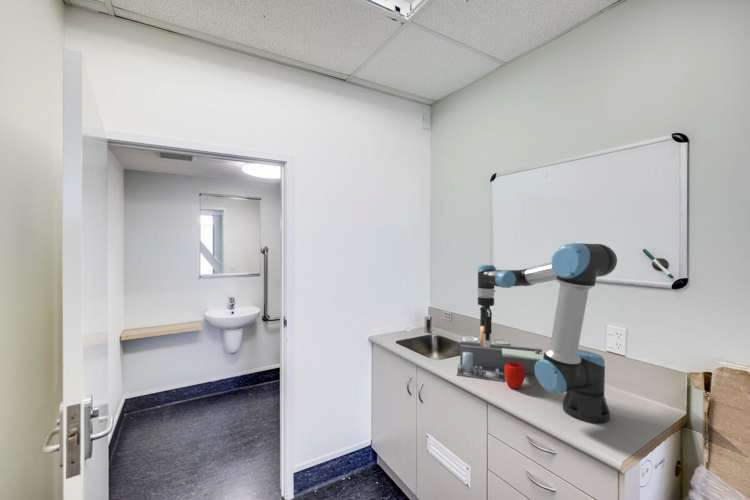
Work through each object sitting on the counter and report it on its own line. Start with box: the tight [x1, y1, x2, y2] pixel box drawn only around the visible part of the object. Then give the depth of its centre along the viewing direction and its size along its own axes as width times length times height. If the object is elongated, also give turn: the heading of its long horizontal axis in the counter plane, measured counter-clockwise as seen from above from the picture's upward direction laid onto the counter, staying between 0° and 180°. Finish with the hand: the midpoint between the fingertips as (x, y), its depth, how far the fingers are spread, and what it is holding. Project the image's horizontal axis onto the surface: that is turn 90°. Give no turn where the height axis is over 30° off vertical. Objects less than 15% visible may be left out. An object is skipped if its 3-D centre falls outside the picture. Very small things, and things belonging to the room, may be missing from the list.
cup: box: [462, 336, 480, 343], centre depth 189 cm, size 8×12×10 cm
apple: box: [503, 362, 526, 390], centre depth 146 cm, size 9×9×11 cm
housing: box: [456, 340, 544, 382], centre depth 160 cm, size 17×39×12 cm, turn 70°
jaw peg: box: [479, 326, 492, 347], centre depth 157 cm, size 5×5×9 cm
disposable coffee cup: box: [491, 339, 512, 346], centre depth 176 cm, size 10×10×12 cm
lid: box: [502, 348, 544, 361], centre depth 156 cm, size 11×18×2 cm, turn 70°
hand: (485, 344), depth 157 cm, fingers closed on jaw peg, 5 cm apart
